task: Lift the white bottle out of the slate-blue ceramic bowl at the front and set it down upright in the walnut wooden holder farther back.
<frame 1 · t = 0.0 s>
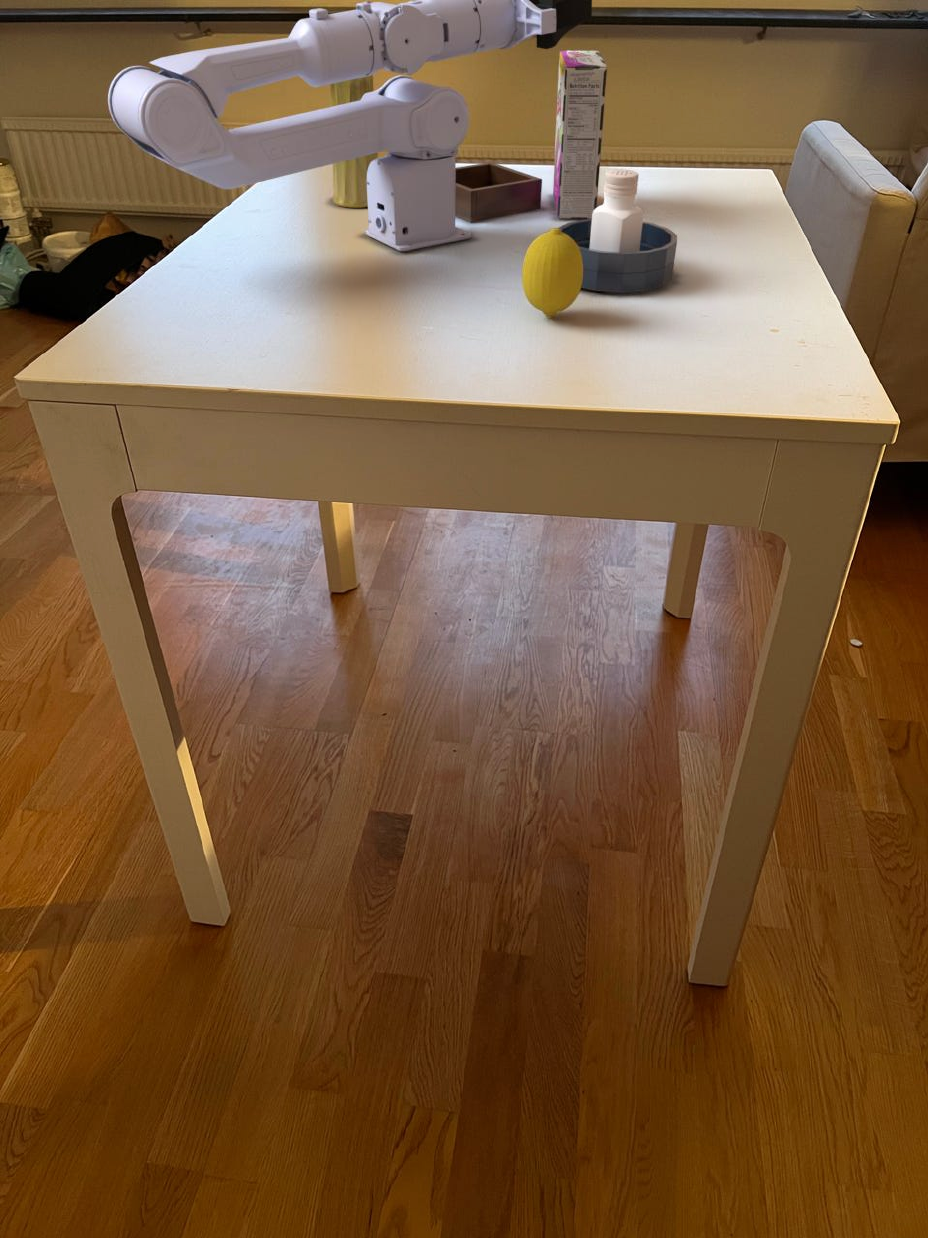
hand: (566, 2, 105), 22 cm above the table, tool horizontal, fingers open, 7 cm apart
white bottle: (611, 273, 99), resting on bowl
bowl: (611, 274, 100), on the table
lemon: (549, 319, 90), on the table
vase: (357, 203, 121), on the table
holder: (481, 205, 120), on the table
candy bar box: (572, 209, 120), on the table
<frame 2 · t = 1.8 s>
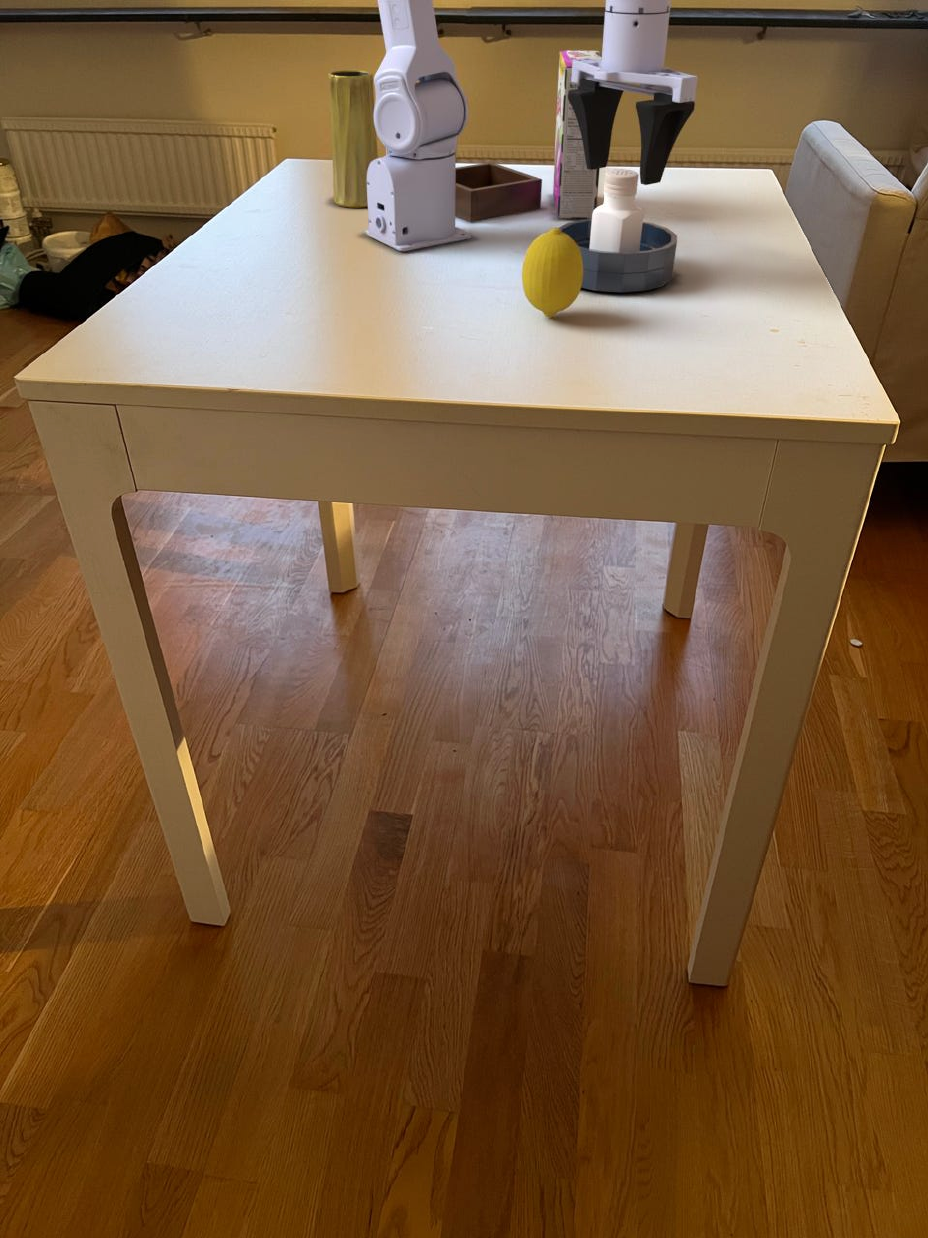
hand: (622, 175, 94), 10 cm above the table, tool pointing down, fingers open, 7 cm apart
nothing on the table moved.
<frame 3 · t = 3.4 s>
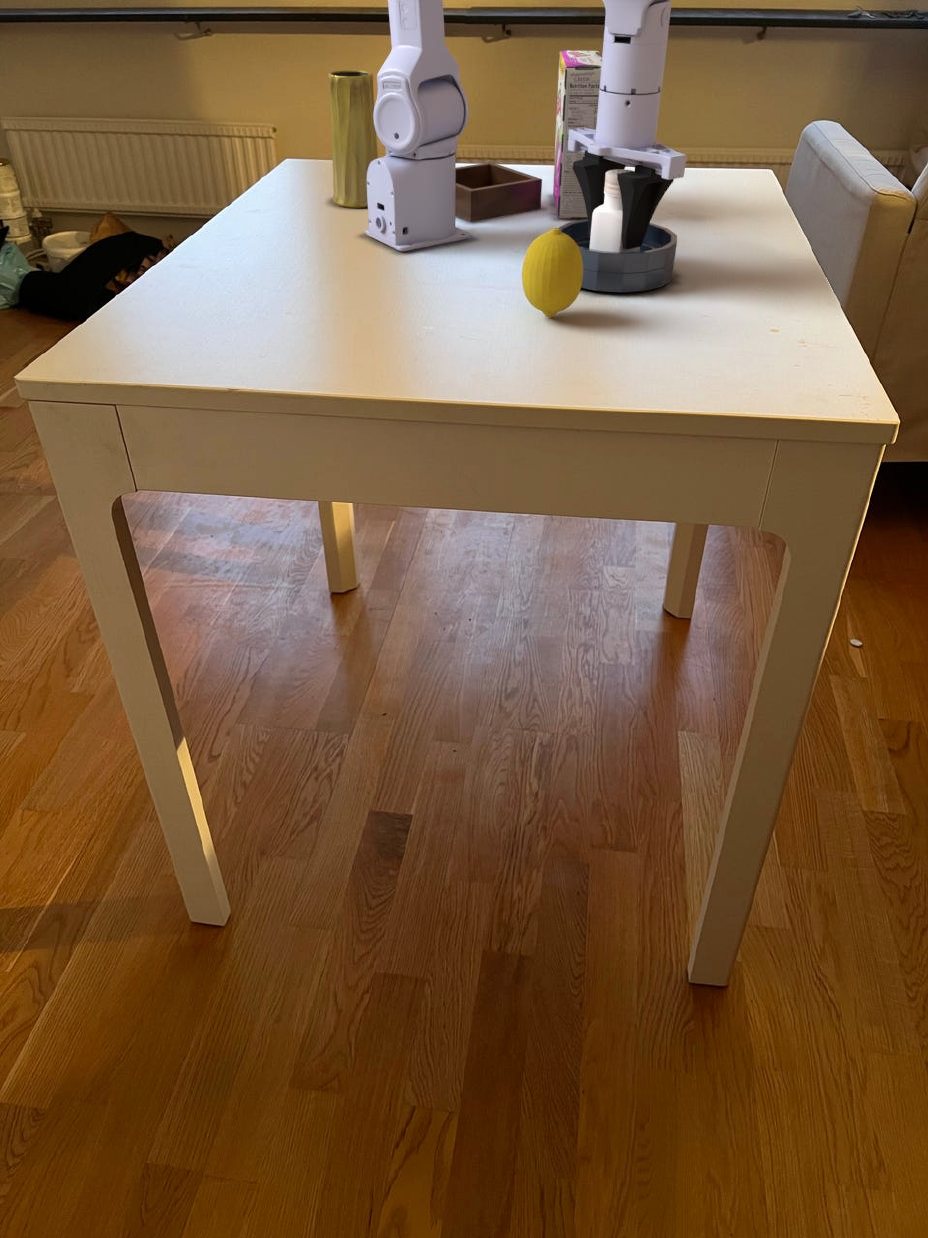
hand: (615, 240, 97), 3 cm above the table, tool pointing down, fingers closed on white bottle, 4 cm apart
white bottle: (612, 273, 99), resting on bowl, touching gripper
everything else where it was.
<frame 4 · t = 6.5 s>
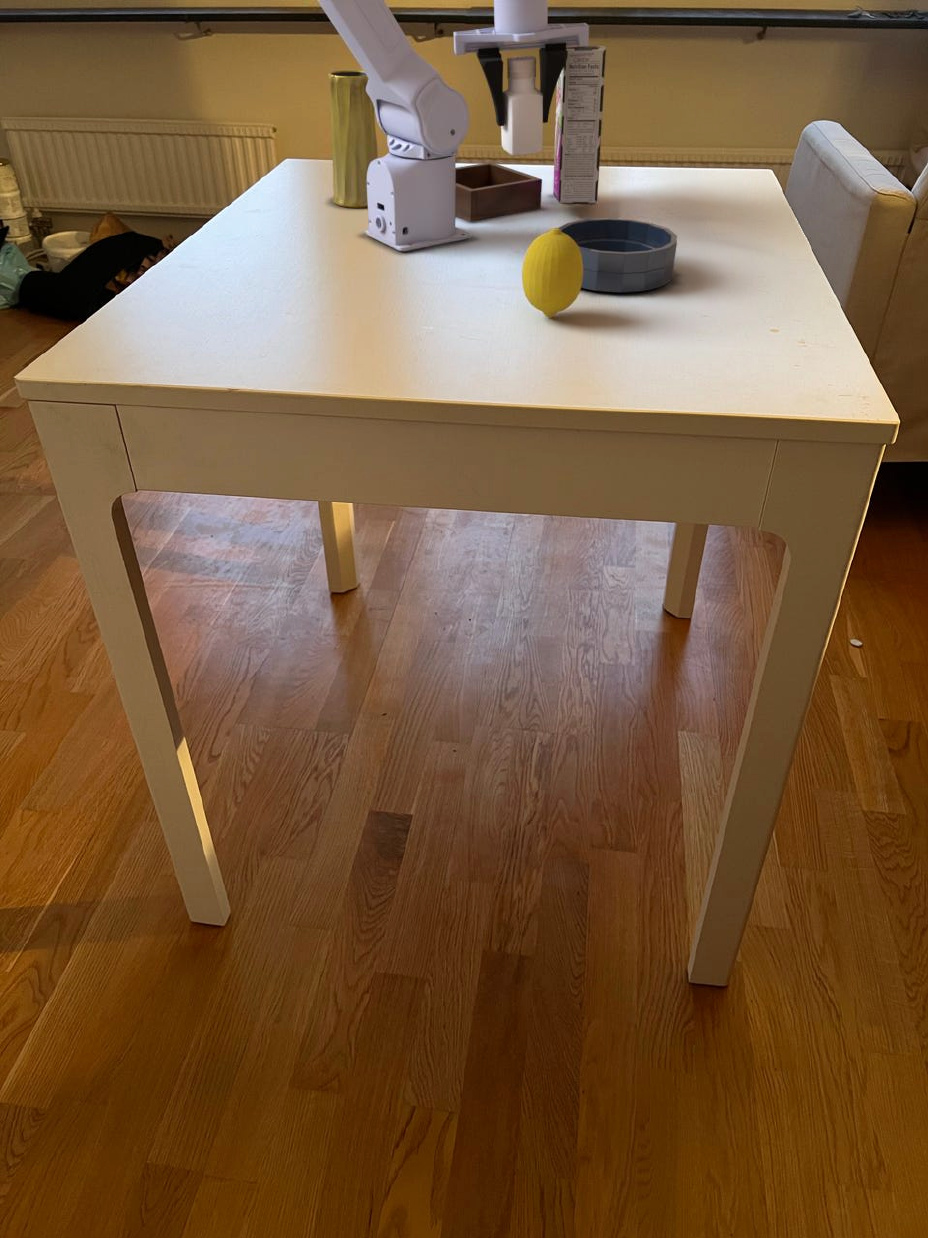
hand: (521, 122, 110), 10 cm above the table, tool pointing down, fingers closed on white bottle, 4 cm apart
white bottle: (522, 153, 112), point 7 cm above the table, touching gripper
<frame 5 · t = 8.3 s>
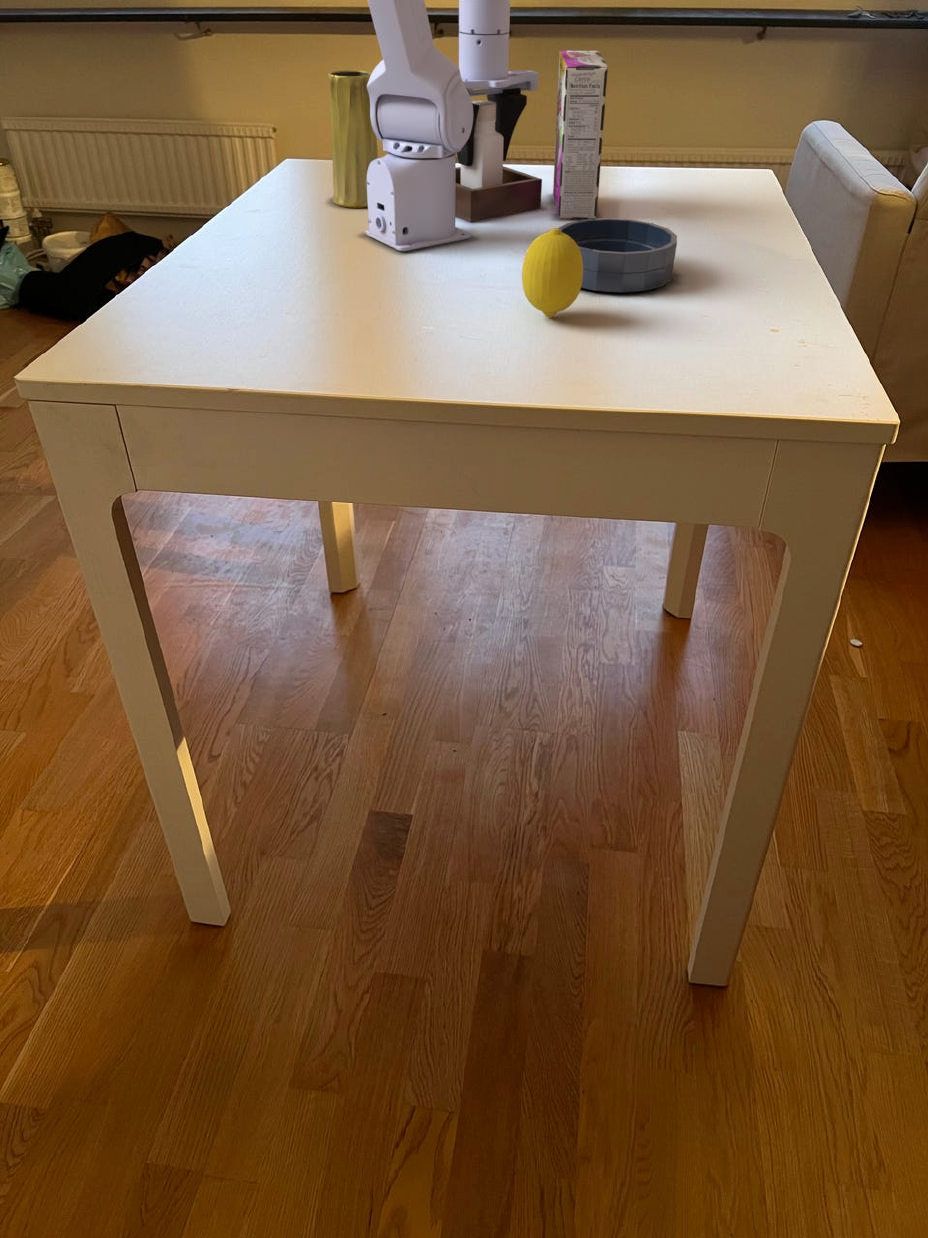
hand: (481, 161, 117), 5 cm above the table, tool pointing down, fingers closed on white bottle, 4 cm apart
white bottle: (481, 190, 119), point 2 cm above the table, touching gripper
when the fingers open (4 cm above the table, at t = 9.2 s): white bottle stays where it is, resting on holder.
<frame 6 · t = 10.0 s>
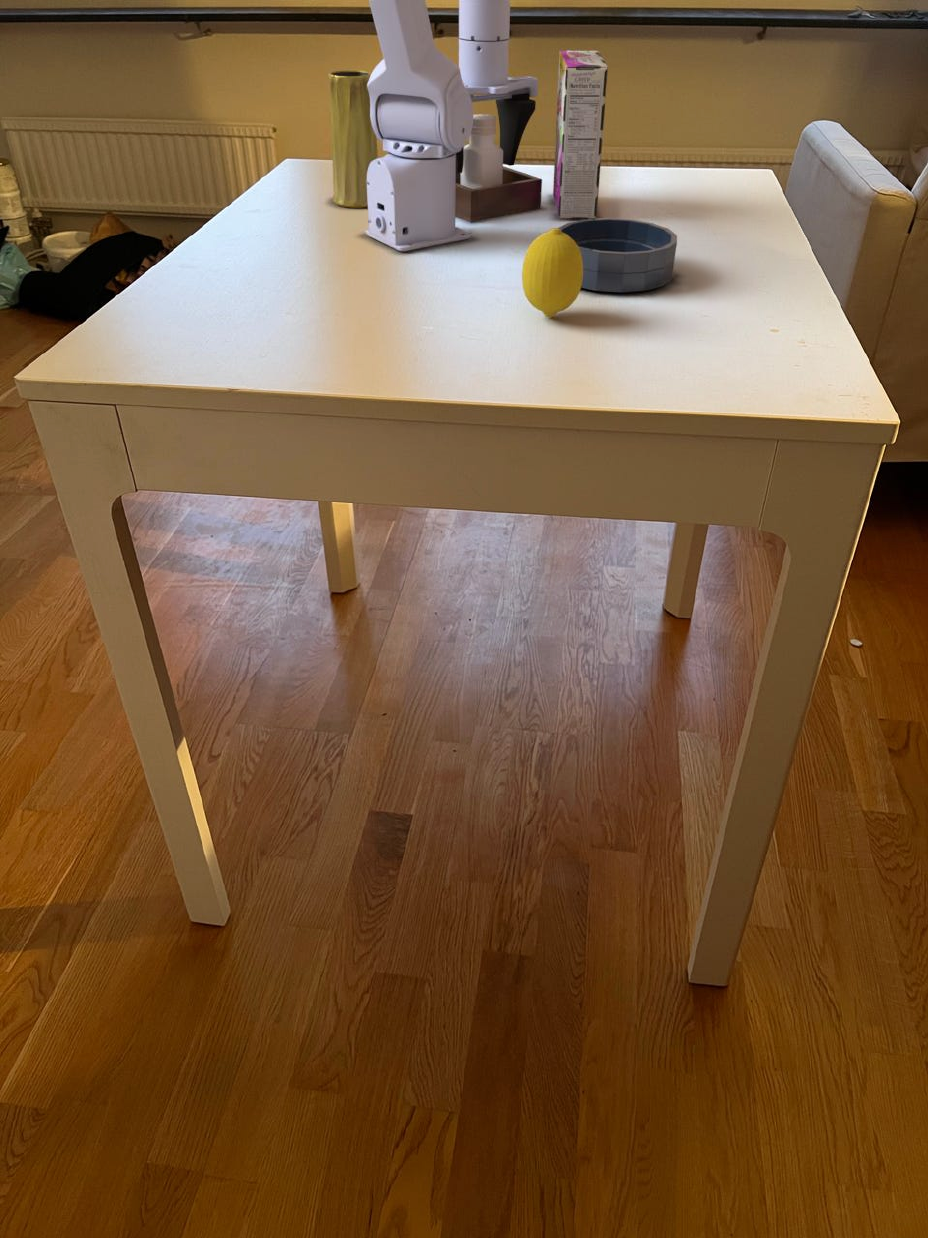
hand: (481, 167, 117), 4 cm above the table, tool pointing down, fingers open, 7 cm apart
white bottle: (481, 202, 120), resting on holder
everything else where it was.
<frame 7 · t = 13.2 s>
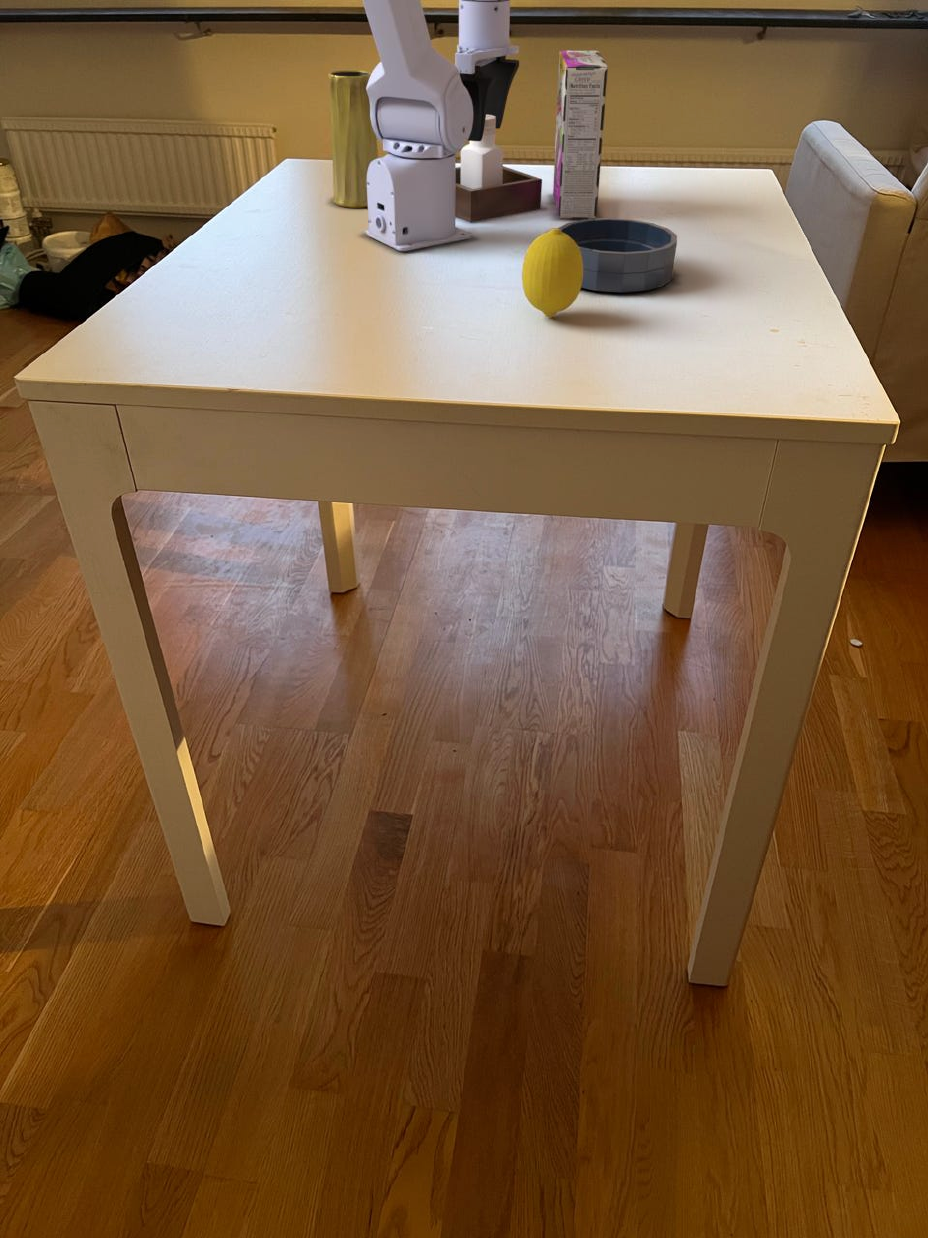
hand: (482, 133, 115), 8 cm above the table, tool pointing down, fingers open, 7 cm apart
nothing on the table moved.
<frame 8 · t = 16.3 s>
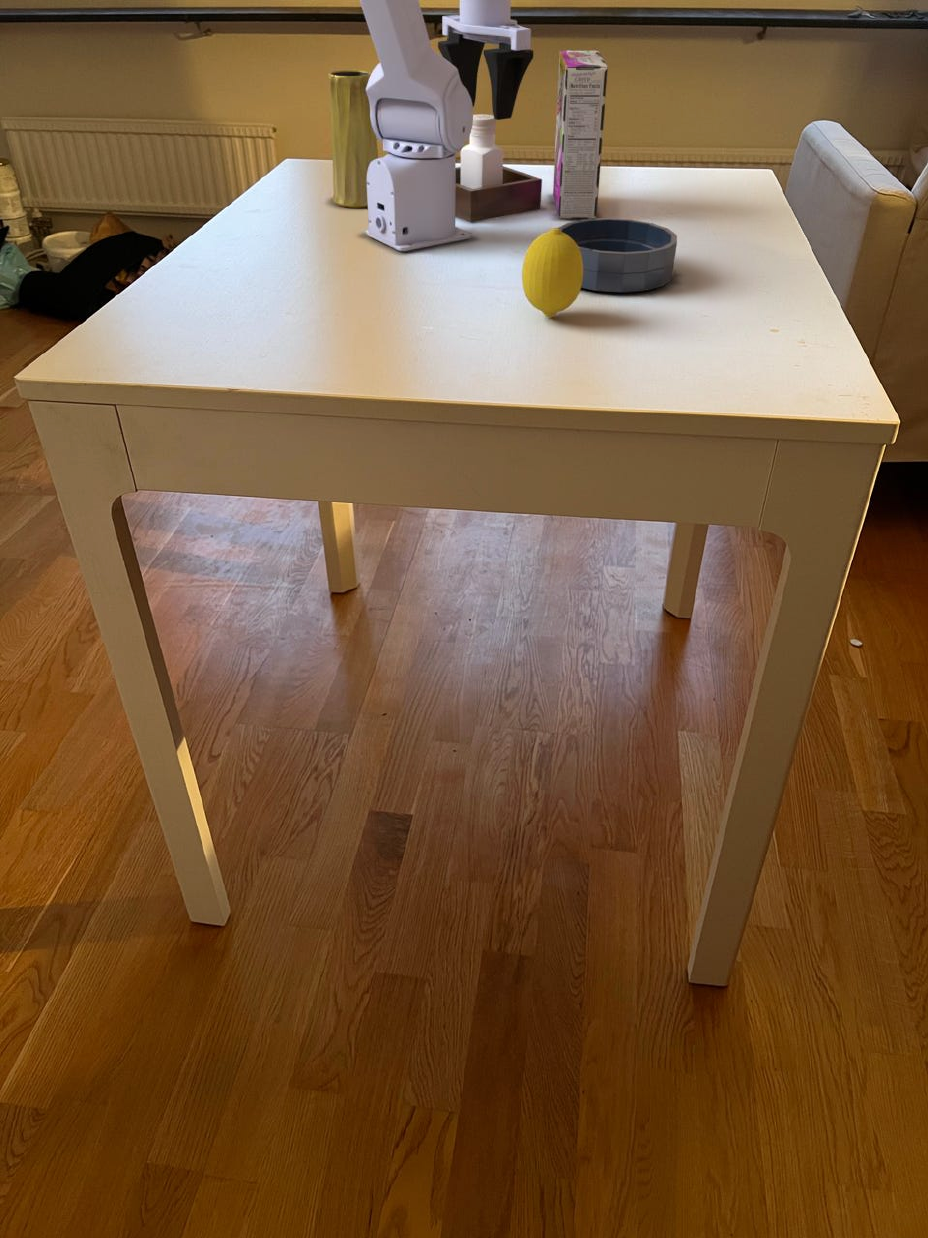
hand: (483, 112, 114), 10 cm above the table, tool pointing down, fingers open, 7 cm apart
nothing on the table moved.
at the end: white bottle inside the target area in the holder (0.1 cm from its centre), point 0.3 cm above the holder's base; white bottle tilted 0° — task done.
